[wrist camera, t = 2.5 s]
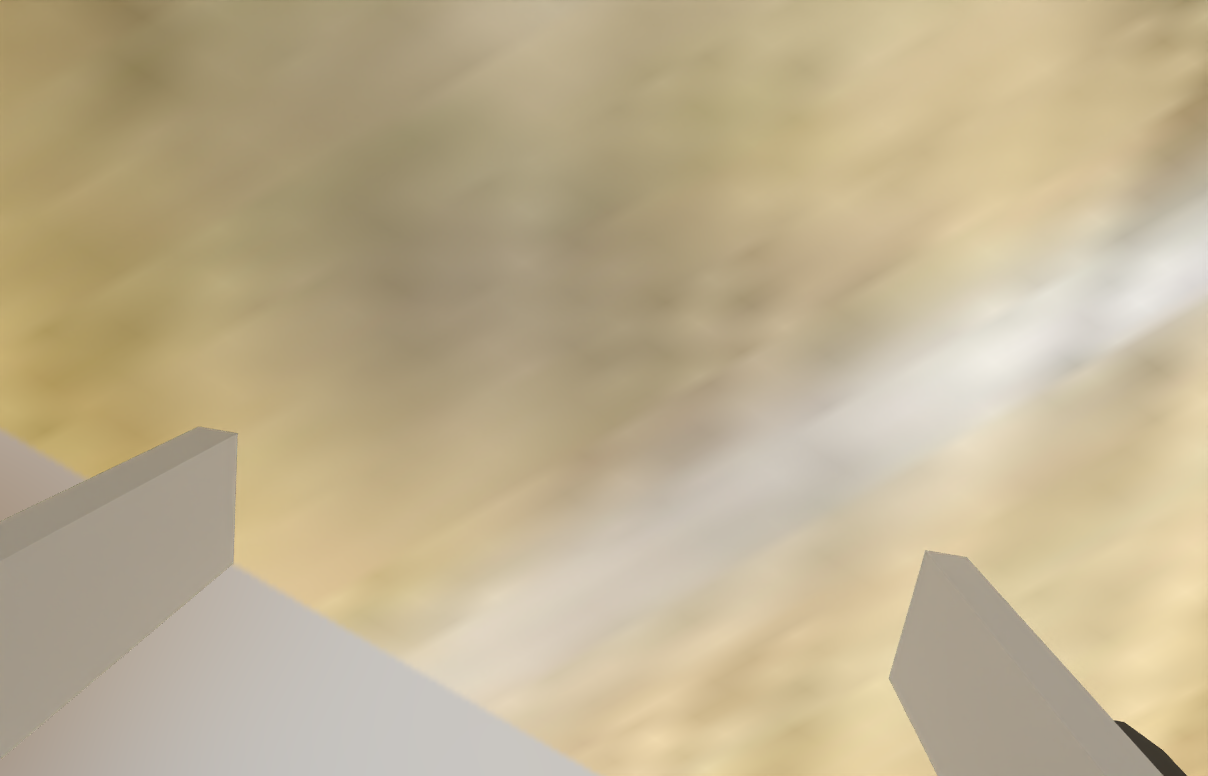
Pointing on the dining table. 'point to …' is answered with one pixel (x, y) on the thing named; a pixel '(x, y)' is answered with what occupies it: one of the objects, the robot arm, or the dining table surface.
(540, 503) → the dining table surface
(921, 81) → the dining table surface
